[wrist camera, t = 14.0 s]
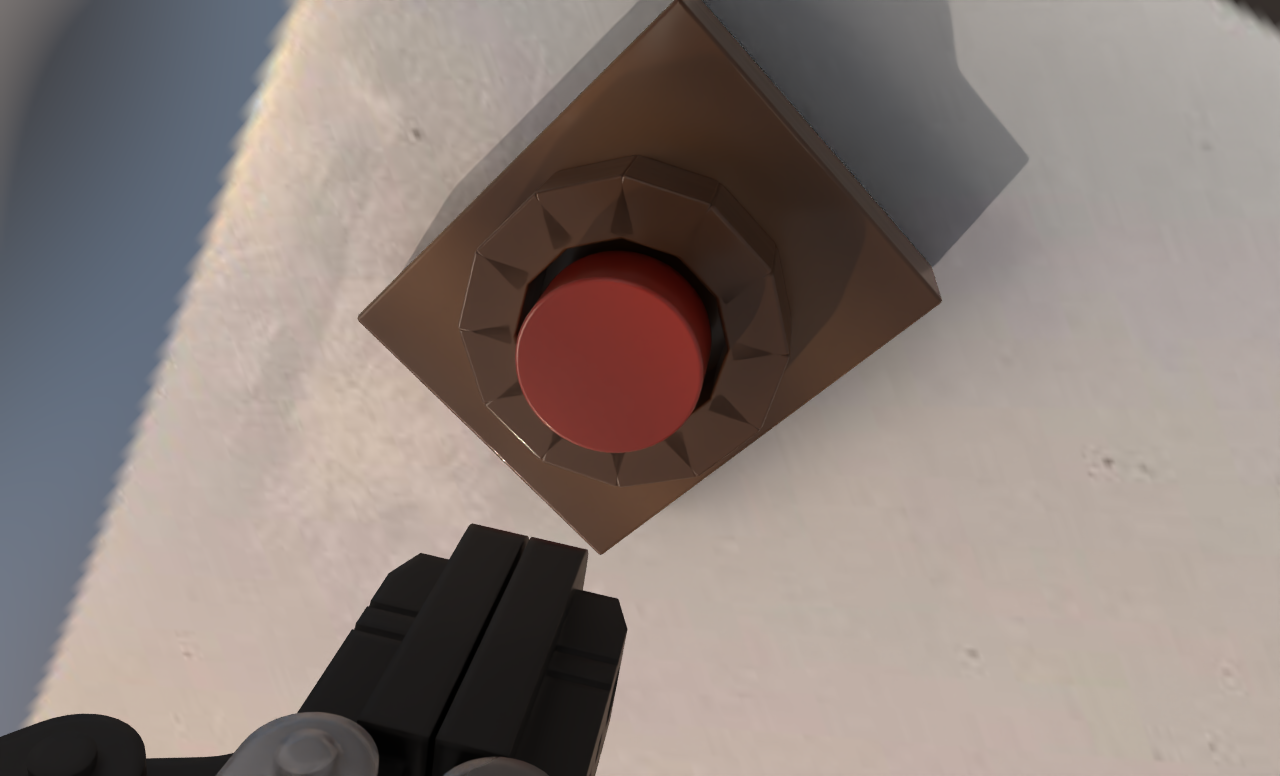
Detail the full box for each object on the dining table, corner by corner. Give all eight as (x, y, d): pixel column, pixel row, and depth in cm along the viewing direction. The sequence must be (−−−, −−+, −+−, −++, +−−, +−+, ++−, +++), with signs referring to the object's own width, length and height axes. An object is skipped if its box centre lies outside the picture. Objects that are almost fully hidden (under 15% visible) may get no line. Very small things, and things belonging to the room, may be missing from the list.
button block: (691, -13, 22) (665, 3, 18) (934, 268, 23) (954, 334, 20) (390, 286, 26) (320, 349, 22) (616, 510, 27) (584, 601, 24)
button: (625, 212, 20) (608, 238, 19) (749, 345, 21) (743, 380, 19) (501, 325, 22) (475, 358, 20) (621, 446, 22) (606, 487, 21)
